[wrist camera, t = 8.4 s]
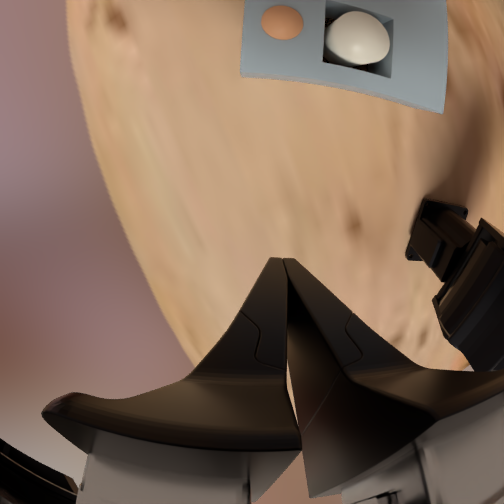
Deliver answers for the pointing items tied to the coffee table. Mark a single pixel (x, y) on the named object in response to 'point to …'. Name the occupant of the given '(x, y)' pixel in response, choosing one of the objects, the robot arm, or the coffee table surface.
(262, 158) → the coffee table surface
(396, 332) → the coffee table surface
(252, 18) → the button board
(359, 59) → the button inner
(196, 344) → the coffee table surface
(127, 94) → the coffee table surface
